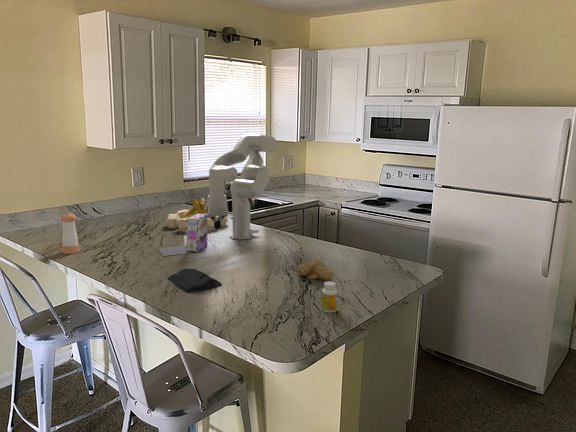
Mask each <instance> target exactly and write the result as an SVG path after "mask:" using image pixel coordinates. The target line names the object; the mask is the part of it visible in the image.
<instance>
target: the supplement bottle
mask: <svg viewBox="0 0 576 432" xmlns="http://www.w3.org/2000/svg"><path fill="white" fill-rule="evenodd" d="M336 285H337V284H336V282H334V281H329V280H328V281H324V283H323V288H322V290H321V303H320V304H321V311H323V312H324V313H335V312H337V309H338V289H336V287H337V286H336Z"/></svg>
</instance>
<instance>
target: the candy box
mask: <svg viewBox="0 0 576 432" xmlns="http://www.w3.org/2000/svg"><path fill="white" fill-rule="evenodd" d="M207 222H208V218H207V214H196V215H194V216H191V217H189V218H187V233H186V246H187V251H192V253H198V252H199V251H202V250H203V249H204V248H205V247H207V246H208V231H207Z"/></svg>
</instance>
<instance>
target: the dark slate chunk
mask: <svg viewBox="0 0 576 432" xmlns="http://www.w3.org/2000/svg"><path fill="white" fill-rule="evenodd" d="M166 280H168V282H171V283H172V284H173V285H174V286H176V287H177V288H179V289H181V290H182V291H184V293H187V294H189V293H191V294H195V293H198V292H205V291H209V290H213V289H215V288H218V287H221V286H222V284H223V283H222V282H221V281H219V280H217V279H216V278H215V279H214V278H213V277H211V276H209V275H208V274H206V273H204V272H203V271H200V270H198V269H196V268H183V269H181V270H179V271H176V273H173V274H171V275H169V276H168V277H167V278H166Z"/></svg>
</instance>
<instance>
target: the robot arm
mask: <svg viewBox="0 0 576 432" xmlns="http://www.w3.org/2000/svg"><path fill="white" fill-rule="evenodd" d="M277 147H278V141H277V139H276V138H275V137H274V136H270V135H265V134H258V133H257V134H256V133H246V134H244V135H242V136H241V137H240V139H239V140H238V142H237V143H236V144H235V146H234V147H233V148H232V150H230V151H228V152H226V153H224V154H223V155H220V157H218V158H217V159H216V160H215V161H214V162H213V164H212V165H211V167H210V168H209V170H208V177H209V178H208V183H209V184H208V185H209V194H208V195H207V197H206V204H205V205H206V213H207V218H210V219H212V220H213V221H214V228H215V229H216V230H215V231H217V230H221V228H222V227H221V221H222V219H223V218H225V217H227V218H228V217H229V215H228V213H229V207H228V198H227V195H226V193H228V189H226V188H225V187H226V186H225V184H226V183H225V182H231V183H230V188H229V190H230V195H231V200H232V201H231V202H232V204H231V205H232V206H231V207H232V233H230V234H229V237H230V239H233V240H240V241H241V240H242V241H243V240H249V239H250V240H251V239H252V238H253V237H254V234H255V233H256V234H258V233H260V232H259V231H260V230H259V229H258V228H257V229H256V228H251V203H250V200H249V199H259V198H260V197H261V196H262V195H263V193H264V190H265V188H266V187H267V185H268V183H269V181H270V177H271V172H270V169H269V168H268V167H267V166H265V165H264V160H263V157H262V155H261V153H274V152H276V150H277ZM247 158H248V159H247ZM246 160H247V161H246ZM245 161H246V163H245V165H244V167H242V170H241V172H240V179H239V178H238V170H237V168H235V167H233V166H234V165H238V164H242V163H243V162H245ZM216 216H218V220H217V217H216Z"/></svg>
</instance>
